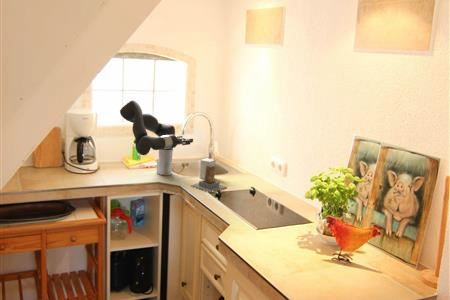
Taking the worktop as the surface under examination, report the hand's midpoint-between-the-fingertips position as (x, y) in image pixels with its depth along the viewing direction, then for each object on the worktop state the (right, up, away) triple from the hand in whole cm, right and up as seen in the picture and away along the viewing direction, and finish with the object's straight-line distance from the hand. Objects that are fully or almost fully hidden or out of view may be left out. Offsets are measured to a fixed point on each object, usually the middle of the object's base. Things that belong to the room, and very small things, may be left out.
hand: (187, 139), depth 275 cm
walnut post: (+12, -29, +18) cm, 36 cm away
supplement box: (+10, -25, +38) cm, 47 cm away
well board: (+12, -30, +19) cm, 37 cm away
